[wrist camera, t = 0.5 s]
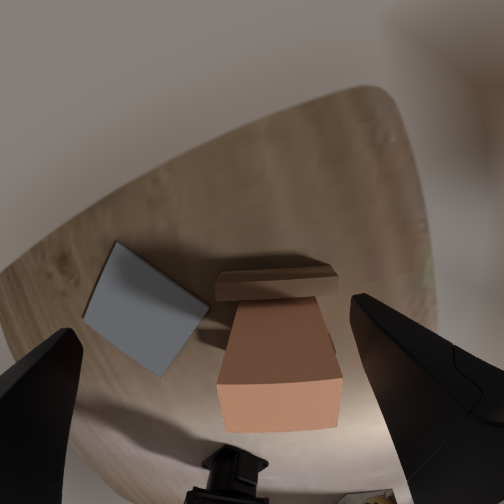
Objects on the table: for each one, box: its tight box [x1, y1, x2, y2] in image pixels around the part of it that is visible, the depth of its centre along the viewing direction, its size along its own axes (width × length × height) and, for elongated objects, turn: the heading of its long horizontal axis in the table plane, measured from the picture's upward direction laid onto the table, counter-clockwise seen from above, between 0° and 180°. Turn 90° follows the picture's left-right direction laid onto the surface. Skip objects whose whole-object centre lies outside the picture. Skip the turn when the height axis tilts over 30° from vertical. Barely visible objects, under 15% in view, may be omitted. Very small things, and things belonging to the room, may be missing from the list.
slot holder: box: [214, 265, 338, 354], centre depth 23 cm, size 8×9×3 cm
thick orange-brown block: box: [216, 296, 343, 433], centre depth 19 cm, size 4×6×12 cm, turn 95°
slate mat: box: [83, 242, 210, 378], centre depth 26 cm, size 10×10×1 cm
